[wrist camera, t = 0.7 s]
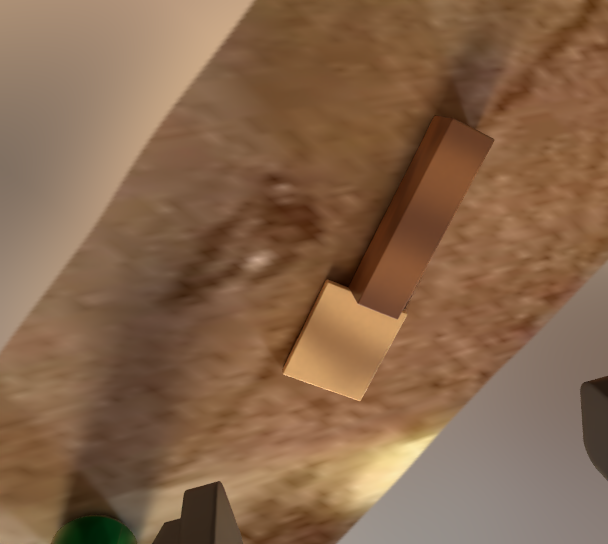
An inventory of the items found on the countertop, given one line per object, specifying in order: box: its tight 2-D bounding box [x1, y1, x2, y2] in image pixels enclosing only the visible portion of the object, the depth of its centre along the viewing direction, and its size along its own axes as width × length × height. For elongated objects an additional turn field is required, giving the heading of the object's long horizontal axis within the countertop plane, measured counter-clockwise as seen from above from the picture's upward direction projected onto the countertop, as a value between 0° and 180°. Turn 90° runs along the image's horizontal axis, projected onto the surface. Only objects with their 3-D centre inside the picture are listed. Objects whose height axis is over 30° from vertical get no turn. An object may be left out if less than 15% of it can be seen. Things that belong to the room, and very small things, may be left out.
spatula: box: [282, 116, 494, 401], centre depth 28 cm, size 16×5×2 cm, turn 155°
